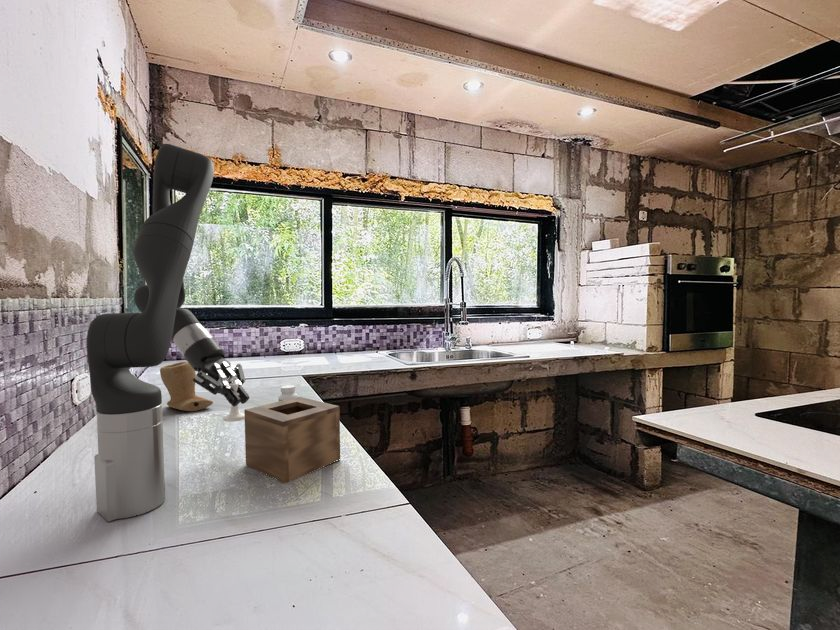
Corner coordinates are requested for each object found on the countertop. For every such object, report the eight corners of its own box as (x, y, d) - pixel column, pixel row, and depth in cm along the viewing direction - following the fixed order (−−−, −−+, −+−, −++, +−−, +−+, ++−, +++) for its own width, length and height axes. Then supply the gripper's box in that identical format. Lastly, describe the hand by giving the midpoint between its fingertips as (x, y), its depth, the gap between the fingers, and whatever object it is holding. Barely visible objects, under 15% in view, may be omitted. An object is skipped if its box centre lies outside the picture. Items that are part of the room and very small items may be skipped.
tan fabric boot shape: (156, 408, 136) (154, 361, 135) (195, 401, 145) (193, 357, 144) (173, 417, 126) (171, 367, 125) (214, 408, 135) (213, 362, 134)
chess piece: (218, 420, 96) (217, 376, 96) (236, 414, 101) (235, 373, 100) (232, 422, 94) (232, 378, 94) (250, 417, 98) (250, 374, 98)
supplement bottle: (301, 417, 125) (300, 384, 125) (294, 422, 120) (293, 388, 119) (283, 416, 126) (282, 384, 125) (275, 422, 120) (274, 388, 120)
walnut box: (284, 483, 82) (283, 421, 81) (245, 465, 90) (244, 409, 90) (340, 460, 93) (339, 406, 92) (301, 446, 101) (300, 396, 101)
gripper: (182, 338, 93) (229, 398, 89) (229, 334, 106) (271, 385, 102) (164, 361, 94) (209, 421, 91) (212, 354, 108) (253, 406, 104)
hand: (241, 402), depth 97 cm, fingers closed on chess piece
